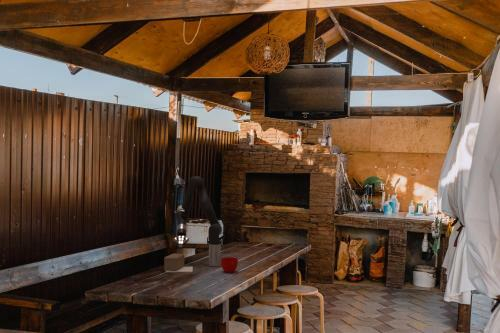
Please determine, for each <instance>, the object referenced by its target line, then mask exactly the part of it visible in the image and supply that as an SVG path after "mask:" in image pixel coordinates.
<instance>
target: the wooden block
mask: <svg viewBox="0 0 500 333" xmlns="http://www.w3.org/2000/svg"><path fill="white" fill-rule="evenodd" d="M163 258H164V259H163V262H164V264H163V270H164V271H166V270H168V271H177V270H178V269H180V268H182V267H185V254H184V253H175V252H174V253H171V254H170V255H167V256H165V257H163Z"/></svg>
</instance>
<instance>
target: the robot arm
mask: <svg viewBox="0 0 500 333" xmlns="http://www.w3.org/2000/svg"><path fill="white" fill-rule="evenodd" d="M196 190H197V192H198V203H199V206H200V210H201V211H202V213H203V215H204V217H206V219H207V220H208V222H209V225H210V226H209V227H208V231H207V232H208V233H207V235H208V237H207V238H208V266H209V267H220V266H221V250H222V249H221V246H222V245H221V239H220V235H221V234H222V231H223V227H222V225H221V223H220V221H219V219H218V218H217V215H216V212H215V210H214V207H213V205H212V202H211V200H210V197H209V195H208V192H207V189H206V186H205V183H204V180H203V178H202V177H201V176H197V175H196V176H191V177H189V180H188V183H187V189H186V192H185V195H184V198H183V201H182V204H181V209H182V210H181V209H180V210H178V211H176V213H175V217H176V220H177V227H176V235H175V237H173V238H172V240H173V242H174V244H176V245H178V249H179V250H182V249H183V247H184V246H183V245H186V244H187V243H188V242H189V241H190V238H189V237H187V221H188V219H189V218H190V210H191V206H192V204H193V200H194V198H193V197H194V196H193V195H194V192H195V191H196Z"/></svg>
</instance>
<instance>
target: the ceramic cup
mask: <svg viewBox="0 0 500 333" xmlns="http://www.w3.org/2000/svg"><path fill="white" fill-rule="evenodd" d="M238 264H239V258H238V257H232V256H231V257H227V256H226V257H222V258H221V257H220V266H221V268H222V270H223V272H225V273H228V274H229V273H230V274H232V273H234V272H235V271H236V270H237V267H238Z"/></svg>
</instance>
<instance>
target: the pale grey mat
mask: <svg viewBox="0 0 500 333" xmlns="http://www.w3.org/2000/svg"><path fill="white" fill-rule="evenodd" d="M193 271H194V266H183V267H182V268H180V269H178V270H177V271H168V270H165V273H193Z"/></svg>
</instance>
